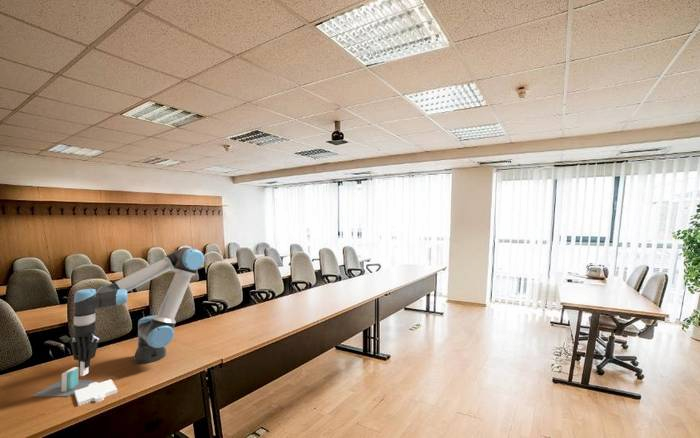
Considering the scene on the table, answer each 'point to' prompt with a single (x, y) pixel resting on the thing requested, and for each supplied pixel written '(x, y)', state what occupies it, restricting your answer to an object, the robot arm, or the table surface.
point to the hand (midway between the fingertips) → (84, 374)
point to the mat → (57, 391)
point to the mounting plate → (95, 392)
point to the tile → (69, 379)
